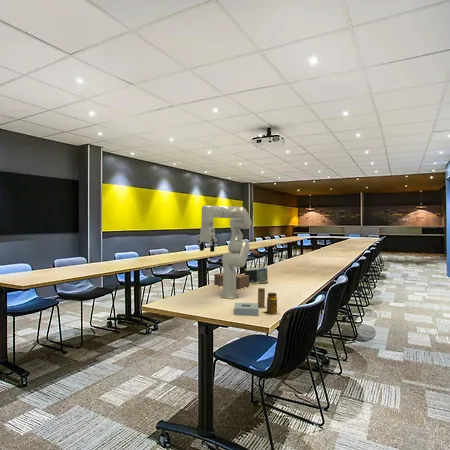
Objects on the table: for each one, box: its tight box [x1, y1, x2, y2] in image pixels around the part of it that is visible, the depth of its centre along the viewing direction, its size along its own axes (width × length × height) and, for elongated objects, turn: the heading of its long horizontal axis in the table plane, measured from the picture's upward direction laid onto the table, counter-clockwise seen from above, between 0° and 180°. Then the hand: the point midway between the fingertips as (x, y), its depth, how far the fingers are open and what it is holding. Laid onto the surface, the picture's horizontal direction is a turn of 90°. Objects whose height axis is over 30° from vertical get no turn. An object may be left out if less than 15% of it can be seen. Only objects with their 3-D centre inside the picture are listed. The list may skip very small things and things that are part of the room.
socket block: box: [233, 302, 259, 317], centre depth 204 cm, size 14×14×4 cm
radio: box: [243, 265, 269, 285], centre depth 299 cm, size 23×9×15 cm, turn 103°
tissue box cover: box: [213, 272, 250, 290], centre depth 285 cm, size 26×14×10 cm, turn 54°
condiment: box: [261, 292, 280, 316], centre depth 202 cm, size 7×8×12 cm
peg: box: [257, 287, 266, 309], centre depth 216 cm, size 4×4×12 cm
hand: (206, 251), depth 218 cm, fingers open, 9 cm apart
